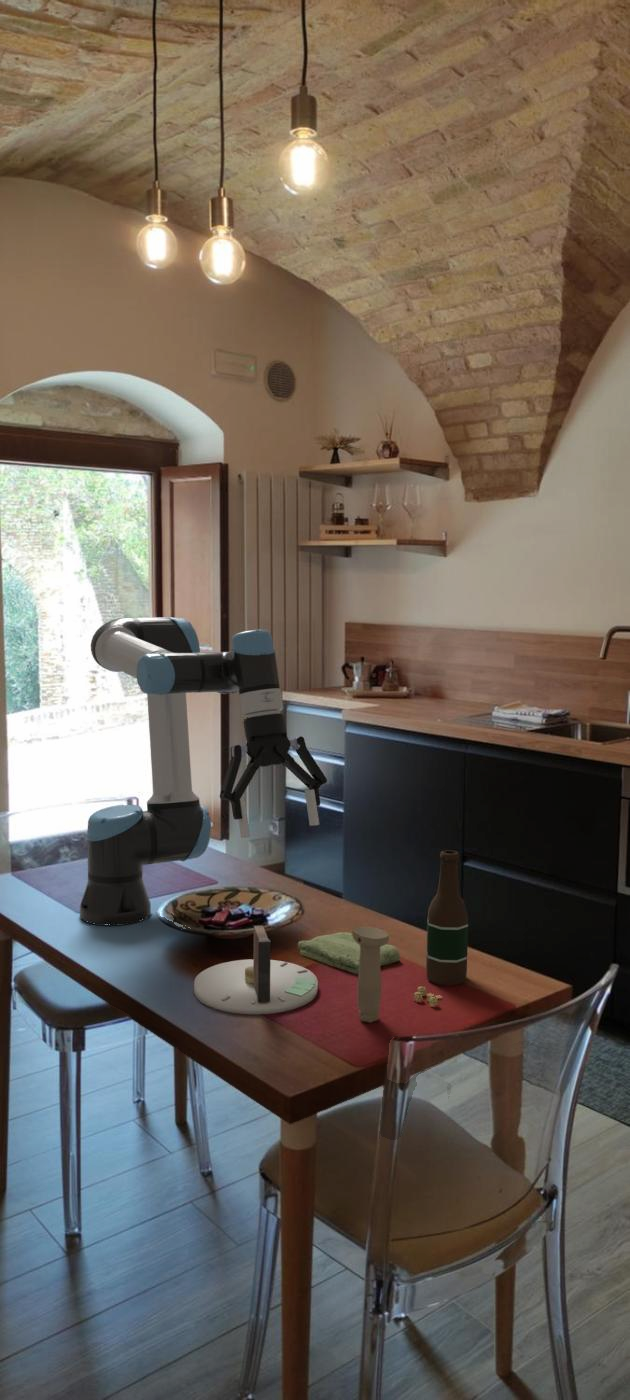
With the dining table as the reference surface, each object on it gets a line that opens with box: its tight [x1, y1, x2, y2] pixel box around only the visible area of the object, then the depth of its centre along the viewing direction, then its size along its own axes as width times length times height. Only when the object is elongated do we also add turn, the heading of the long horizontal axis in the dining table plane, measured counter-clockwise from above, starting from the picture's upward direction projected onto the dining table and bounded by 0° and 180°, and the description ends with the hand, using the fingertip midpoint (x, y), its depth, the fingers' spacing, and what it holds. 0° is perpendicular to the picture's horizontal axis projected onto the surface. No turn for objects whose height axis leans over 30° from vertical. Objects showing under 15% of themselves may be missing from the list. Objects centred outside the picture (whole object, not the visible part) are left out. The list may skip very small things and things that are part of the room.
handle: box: [352, 925, 390, 1024], centre depth 175 cm, size 5×6×15 cm
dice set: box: [413, 986, 443, 1007], centre depth 185 cm, size 5×5×2 cm
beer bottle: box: [425, 849, 469, 986], centre depth 193 cm, size 8×8×24 cm
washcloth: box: [297, 931, 401, 975], centre depth 205 cm, size 13×18×3 cm
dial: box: [193, 958, 319, 1015], centre depth 188 cm, size 22×22×2 cm
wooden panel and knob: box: [245, 925, 272, 1003], centre depth 183 cm, size 13×4×11 cm, turn 10°
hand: (280, 831), depth 190 cm, fingers open, 13 cm apart
